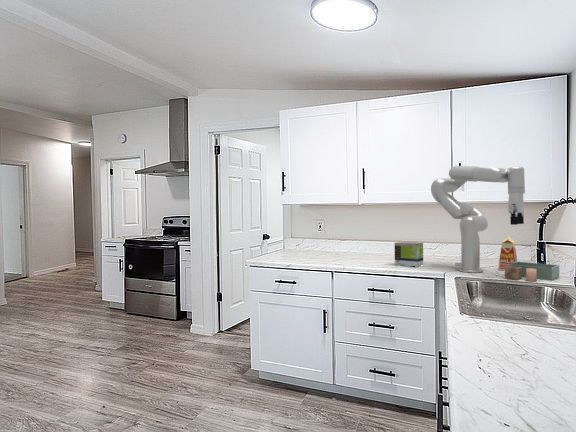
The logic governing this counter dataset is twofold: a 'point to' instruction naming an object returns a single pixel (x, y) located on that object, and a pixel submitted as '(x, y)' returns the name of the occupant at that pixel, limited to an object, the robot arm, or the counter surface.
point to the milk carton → (507, 253)
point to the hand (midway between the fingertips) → (517, 224)
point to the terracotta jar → (531, 275)
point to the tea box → (409, 253)
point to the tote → (539, 270)
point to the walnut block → (513, 273)
